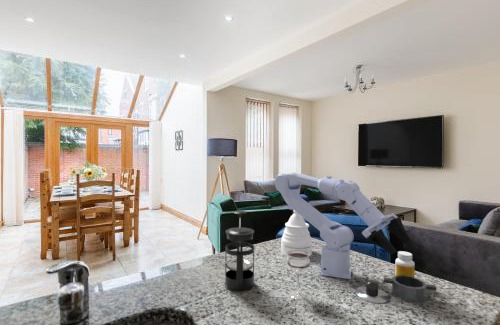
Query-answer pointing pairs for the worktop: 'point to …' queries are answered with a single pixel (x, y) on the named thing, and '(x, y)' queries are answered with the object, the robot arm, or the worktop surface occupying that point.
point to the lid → (372, 293)
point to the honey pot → (296, 235)
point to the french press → (239, 258)
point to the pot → (409, 288)
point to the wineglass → (298, 268)
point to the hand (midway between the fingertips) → (401, 247)
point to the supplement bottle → (404, 264)
